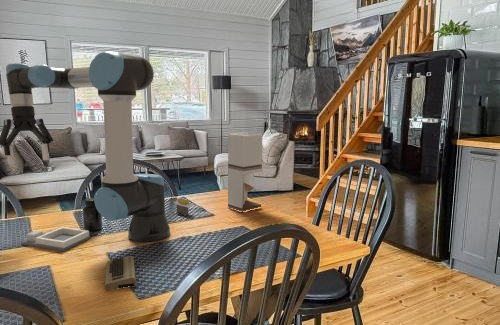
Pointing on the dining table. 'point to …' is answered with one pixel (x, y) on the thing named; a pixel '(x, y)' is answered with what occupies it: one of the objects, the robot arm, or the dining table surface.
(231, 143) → the notched beige pillar
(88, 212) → the supplement bottle
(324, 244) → the dining table surface
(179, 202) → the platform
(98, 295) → the dining table surface
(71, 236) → the charging dock
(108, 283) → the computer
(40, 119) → the robot arm
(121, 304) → the dining table surface
